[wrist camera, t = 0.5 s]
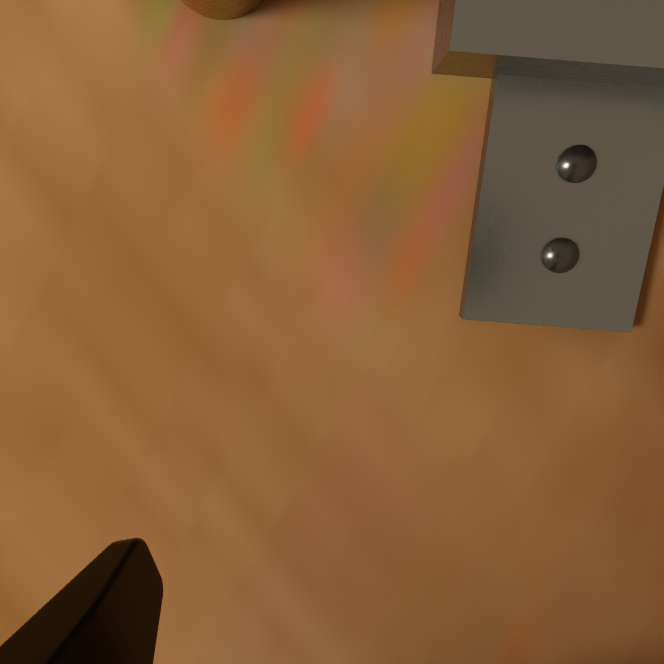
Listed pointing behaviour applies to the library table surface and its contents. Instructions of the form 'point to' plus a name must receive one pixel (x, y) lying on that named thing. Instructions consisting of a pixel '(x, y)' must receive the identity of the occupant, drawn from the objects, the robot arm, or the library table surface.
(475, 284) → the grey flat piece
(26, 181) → the library table surface
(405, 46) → the library table surface
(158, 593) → the robot arm
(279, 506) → the library table surface
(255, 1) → the pin
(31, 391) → the library table surface
